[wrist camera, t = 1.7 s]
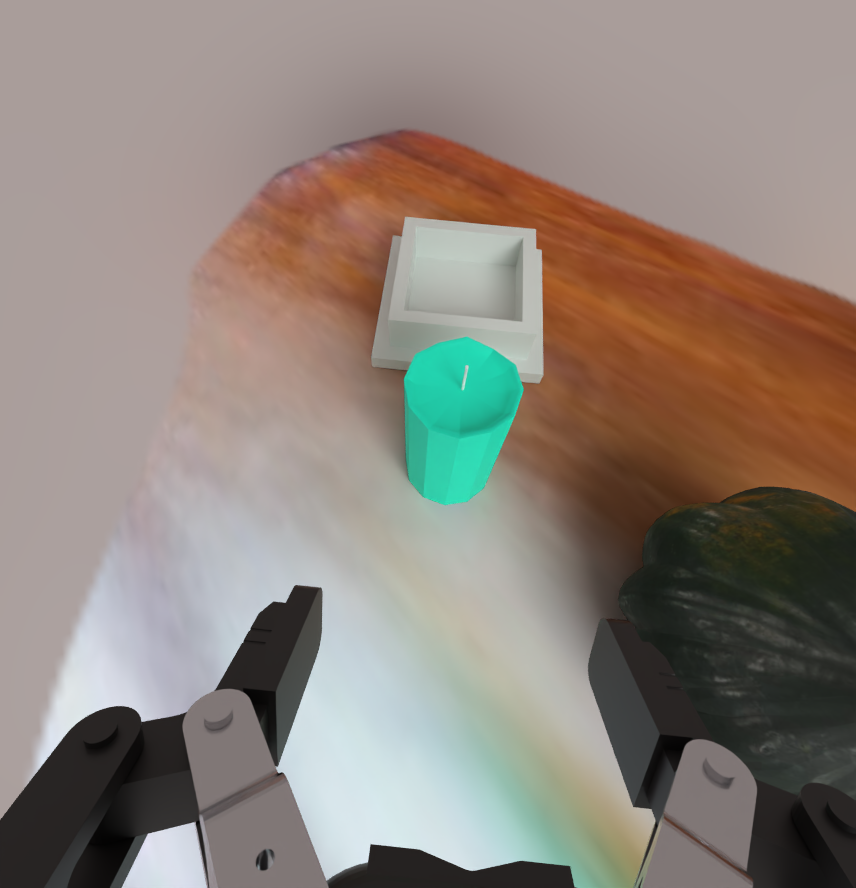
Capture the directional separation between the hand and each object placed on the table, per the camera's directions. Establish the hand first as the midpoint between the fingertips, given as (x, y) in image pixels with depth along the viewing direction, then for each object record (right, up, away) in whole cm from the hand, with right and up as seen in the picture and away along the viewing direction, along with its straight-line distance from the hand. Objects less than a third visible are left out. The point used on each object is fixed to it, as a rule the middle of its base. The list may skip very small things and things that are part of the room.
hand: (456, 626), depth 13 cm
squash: (+17, -7, +15) cm, 23 cm away
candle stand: (+2, +16, +25) cm, 30 cm away
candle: (+1, +4, +19) cm, 20 cm away
